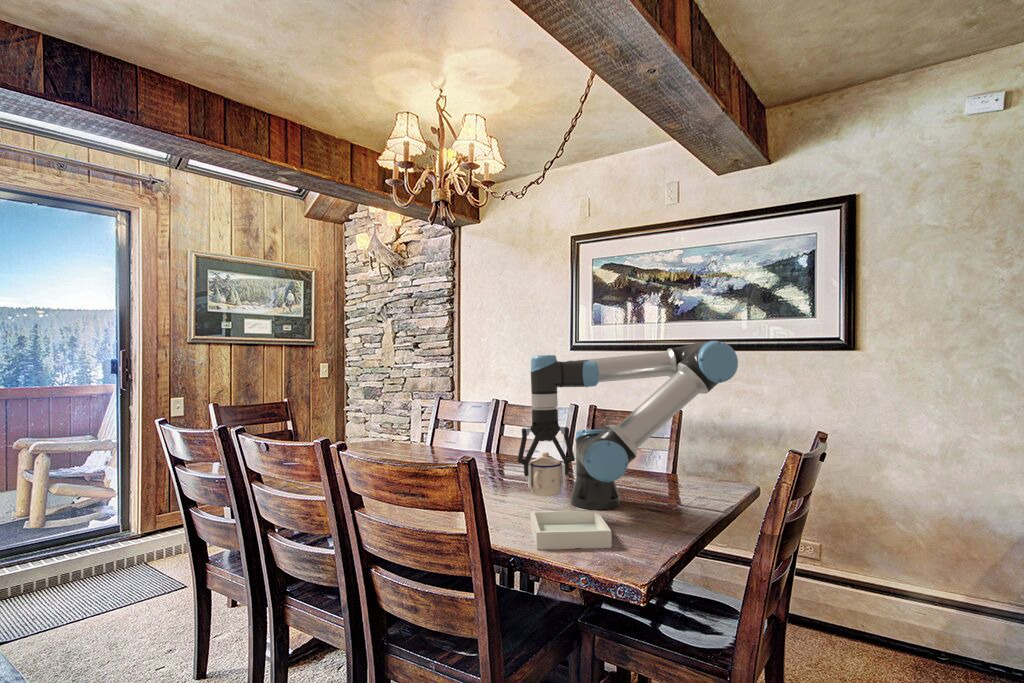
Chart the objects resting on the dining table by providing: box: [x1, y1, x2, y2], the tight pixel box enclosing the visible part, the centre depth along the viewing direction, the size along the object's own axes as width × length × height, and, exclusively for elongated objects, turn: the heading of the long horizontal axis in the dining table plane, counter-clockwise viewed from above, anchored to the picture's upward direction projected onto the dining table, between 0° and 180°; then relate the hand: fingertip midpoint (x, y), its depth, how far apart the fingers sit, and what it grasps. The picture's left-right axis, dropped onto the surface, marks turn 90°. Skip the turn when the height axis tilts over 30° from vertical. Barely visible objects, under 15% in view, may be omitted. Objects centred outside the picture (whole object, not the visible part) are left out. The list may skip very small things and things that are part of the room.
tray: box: [530, 509, 613, 550], centre depth 139 cm, size 18×18×4 cm
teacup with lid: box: [529, 451, 562, 497], centre depth 157 cm, size 12×9×12 cm
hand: (546, 486), depth 157 cm, fingers closed on teacup with lid, 9 cm apart
